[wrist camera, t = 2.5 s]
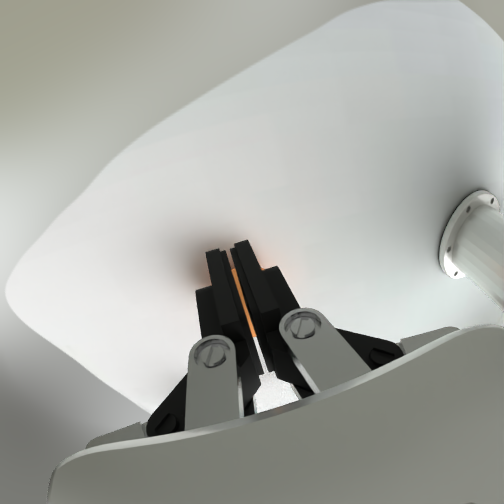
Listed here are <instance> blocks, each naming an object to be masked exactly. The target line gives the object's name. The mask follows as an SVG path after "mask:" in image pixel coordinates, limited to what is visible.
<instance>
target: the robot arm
mask: <svg viewBox="0 0 504 504" xmlns="http://www.w3.org/2000/svg"><path fill="white" fill-rule="evenodd" d="M234 246H235V247H234V248H231V249H230V252H231V255H232V259H233V262H234V266H235V269H236V273H237V276H238V280H239V283H240V287H241V290H242V294H243V297H244V301H245V304H246V307H247V310H248V313H249V316H250V319H251V322H252V325H253V328H254V331H255V334H256V337H257V340H258V342H259V345H260V348H261V351H262V354H263V357H264V360H265V363H266V366H267V369H268V371H269V372H272V371H275V374H276V376H277V378H279V379H280V380H283V381H286V382H289V383H290V385H291V387H292V389H293V391H294V392H295V394H296V396H297V397H298V399H299V400H298V401H295V402H292V403H289V404H286V405H283V406H280V407H277V408H274V409H270V410H267V411H264V412H260V413H257V407H256V399H255V396H254V394H255V393H256V391H257V390H258V388H259V387H260V385H261V382H260V379H259V375H262V374H264V372H263V368H262V365H261V362H260V359H259V356H258V352H257V349H256V346H255V343H254V340H253V336H252V333H251V330H250V327H249V323H248V320H247V317H246V314H245V311H244V307H243V304H242V301H241V298H240V295H239V292H238V289H237V286H236V282H235V279H234V276H233V273H232V270H231V267H230V263H229V260H228V257H227V254H226V251H225V250H224V251H221V252H220V250H219V248H218V249H215V250H211V251H208V252H205V253H206V258H207V263H208V268H209V273H210V278H211V283H212V286H208V287H205V288H202V289H198V290H196V291H195V292H196V301H197V308H198V315H199V322H200V329H201V336H202V339H201V340H199V341H198V342H197V343H196V344H194V346H193V347H192V349H191V350H190V353H189V360H188V373H187V374H186V375H185V376H184V378H183V379H182V380H181V381H180V382H179V384H178V385H177V386H176V387H175V388H174V389H173V391H172V392H171V393H170V394H169V395H168V396H167V398H166V399H165V400H164V401H163V402H162V403H161V405H160V406H159V407H158V408H157V409H156V410H155V412H154V413H153V414H152V415H151V417H150V418H149V420H148V422H146V423H144V424H142V423H141V422H138V423H135V424H133V425H130V426H127V427H125V428H122V429H119V430H117V431H114V432H111V433H108V434H105V435H103V436H99V437H96V438H95V439H93V440H91V441H90V442H89V443H88V444H87V446H86V449H85V450H83V451H80V452H78V453H76V454H73V455H71V456H69V457H67V458H66V459H65V460H63V461H62V462H61V463H59V464H58V465H57V466H56V468H55V469H54V470H53V472H52V475H51V478H50V481H49V486H48V493H47V504H504V327H502V326H499V325H491V324H486V325H477V326H471V327H467V328H464V329H458V328H456V327H444V328H441V329H437V330H434V331H430V332H427V333H423V334H419V335H416V336H412V337H408V338H404V339H400V343H396V344H395V343H393V342H390V341H388V340H383V339H379V338H375V337H370V336H366V335H362V334H358V333H353V332H349V331H345V330H341V329H337V328H334V327H333V325H332V324H331V323H330V322H329V321H328V320H327V319H326V318H325V316H324V315H323V314H321V313H320V312H319V311H317V310H314V309H311V308H300V306H299V304H298V302H297V301H296V299H295V297H294V295H293V293H292V291H291V290H290V288H289V286H288V284H287V282H286V280H285V279H284V277H283V275H282V273H281V271H280V269H279V268H278V266H275V267H271V268H268V269H265V270H262V269H261V267H260V265H259V263H258V261H257V259H256V256H255V254H254V252H253V250H252V248H251V246H250V243H249V241H248V240H245V241H242V242H238V243H235V244H234ZM439 260H440V265H441V268H442V270H443V271H444V272H445V273H446V274H447V275H448V276H449V277H451V278H461V277H464V276H466V277H467V278H468V279H470V280H471V281H472V282H473V283H474V284H475V285H476V286H477V287H478V288H479V289H480V290H481V291H482V292H484V293H485V294H486V295H487V296H488V297H489V298H490V299H491V300H492V301H493V302H494V303H495V304H496V305H497V306H498V307H499V308H500V309H501V310H502V311H503V312H504V215H503V214H502V213H500V207H499V203H498V200H497V199H496V197H495V196H494V195H492V194H491V193H489V192H487V191H485V190H480V191H476V192H474V193H472V194H471V195H469V196H468V197H467V198H466V199H464V200H463V201H462V203H461V204H460V205H459V206H458V207H457V209H456V210H455V212H454V213H453V215H452V217H451V218H450V220H449V222H448V224H447V226H446V229H445V231H444V234H443V237H442V240H441V245H440V252H439Z"/></svg>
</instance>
